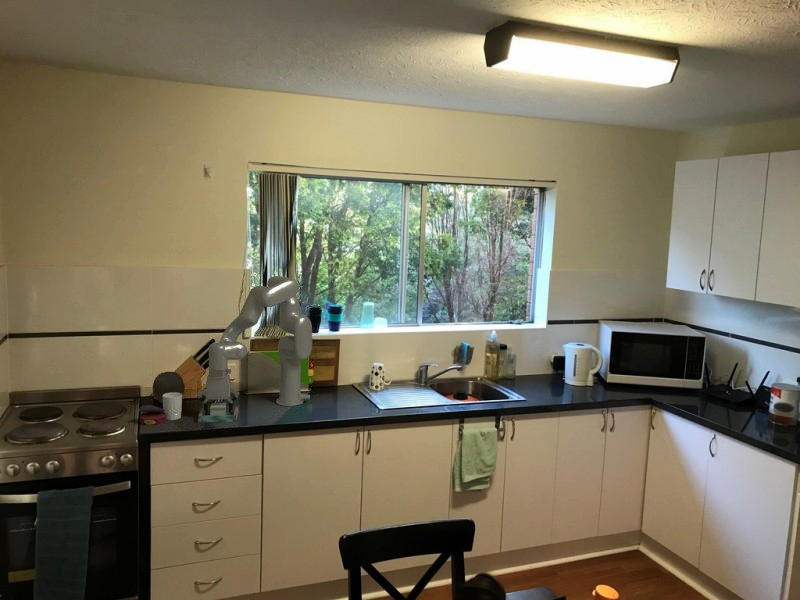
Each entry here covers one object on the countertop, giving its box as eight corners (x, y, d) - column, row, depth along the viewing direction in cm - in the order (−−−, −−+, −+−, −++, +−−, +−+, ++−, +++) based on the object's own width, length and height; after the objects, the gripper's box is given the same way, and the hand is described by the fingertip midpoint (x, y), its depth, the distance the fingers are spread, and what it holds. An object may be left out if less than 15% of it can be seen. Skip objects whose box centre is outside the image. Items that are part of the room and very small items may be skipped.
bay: (238, 412, 283) (238, 406, 282) (236, 421, 270) (236, 415, 270) (202, 413, 280) (202, 407, 280) (197, 422, 267) (197, 416, 267)
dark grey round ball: (192, 402, 295) (191, 370, 293) (169, 410, 282) (168, 377, 280) (168, 398, 300) (168, 367, 299) (145, 406, 288) (144, 373, 286)
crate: (226, 416, 277) (226, 402, 277) (225, 420, 271) (225, 406, 270) (211, 416, 276) (211, 402, 276) (210, 421, 270) (210, 407, 269)
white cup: (163, 421, 267) (162, 398, 266) (162, 416, 274) (161, 393, 273) (183, 419, 270) (182, 396, 269) (181, 414, 278) (181, 391, 276)
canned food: (139, 434, 265) (130, 412, 265) (160, 425, 273) (150, 404, 273) (153, 427, 258) (144, 404, 259) (174, 418, 267) (164, 396, 267)
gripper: (240, 370, 276) (239, 409, 278) (198, 370, 273) (198, 409, 276) (238, 374, 269) (238, 414, 271) (195, 374, 266) (196, 415, 268)
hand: (218, 411), depth 273 cm, fingers open, 9 cm apart
